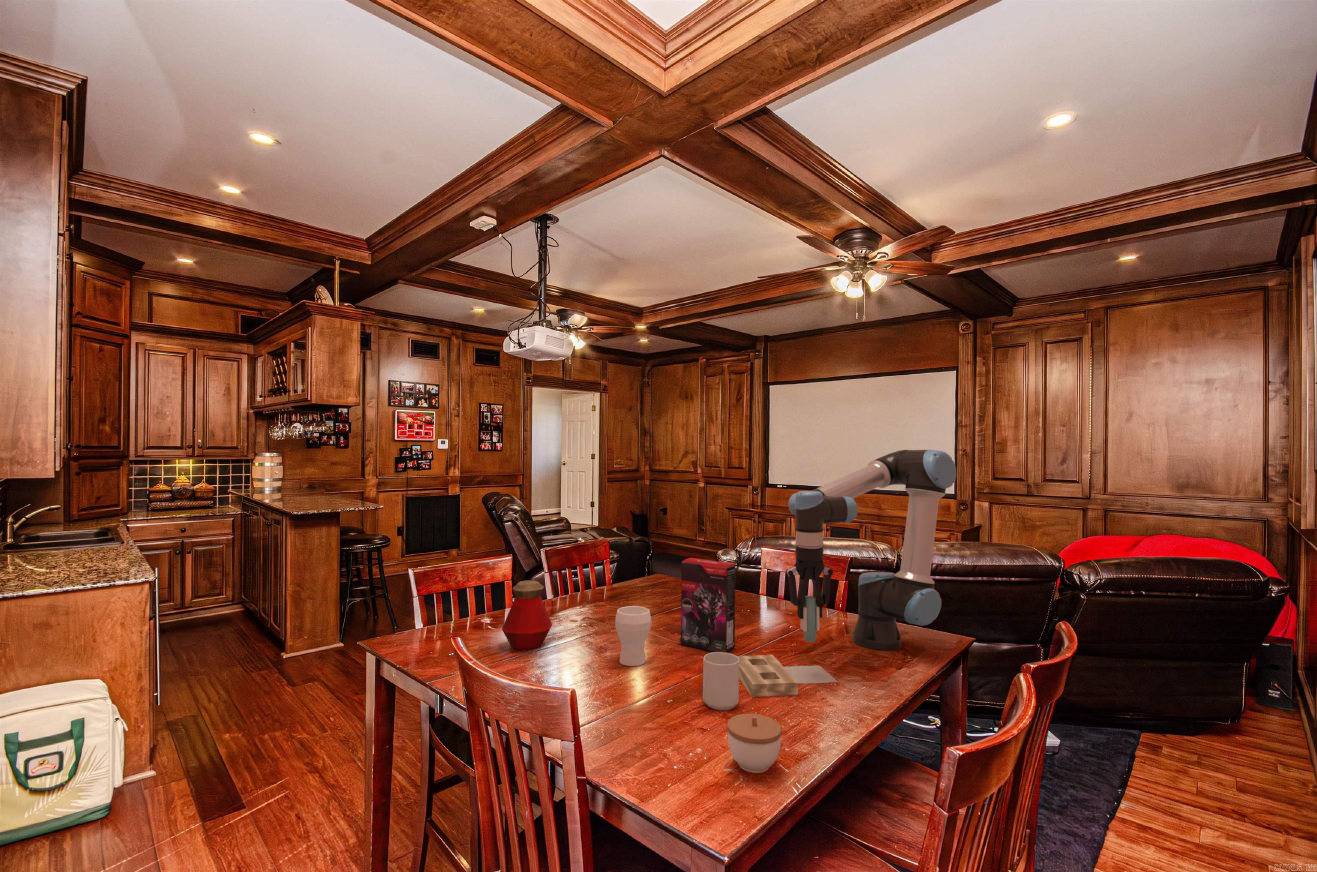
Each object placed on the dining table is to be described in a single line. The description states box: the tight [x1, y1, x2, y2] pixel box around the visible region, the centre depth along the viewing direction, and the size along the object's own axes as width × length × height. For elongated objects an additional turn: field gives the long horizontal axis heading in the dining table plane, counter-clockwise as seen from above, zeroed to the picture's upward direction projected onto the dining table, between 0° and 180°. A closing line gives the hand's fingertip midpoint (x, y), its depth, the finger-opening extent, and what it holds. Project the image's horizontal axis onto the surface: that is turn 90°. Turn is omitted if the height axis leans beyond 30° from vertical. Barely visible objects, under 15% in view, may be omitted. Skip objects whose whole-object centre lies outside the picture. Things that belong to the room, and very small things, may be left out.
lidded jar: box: [726, 713, 782, 774], centre depth 115 cm, size 11×11×9 cm
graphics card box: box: [679, 557, 737, 653], centre depth 183 cm, size 17×7×27 cm, turn 57°
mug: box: [702, 652, 740, 711], centre depth 144 cm, size 12×9×11 cm
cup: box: [614, 605, 652, 667], centre depth 170 cm, size 11×11×15 cm
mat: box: [783, 665, 838, 685], centre depth 161 cm, size 12×12×1 cm
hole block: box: [736, 654, 799, 699], centre depth 156 cm, size 12×20×4 cm, turn 8°
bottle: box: [501, 580, 553, 651], centre depth 182 cm, size 16×14×20 cm
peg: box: [803, 595, 817, 643], centre depth 162 cm, size 3×3×12 cm
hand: (810, 629), depth 162 cm, fingers closed on peg, 3 cm apart
